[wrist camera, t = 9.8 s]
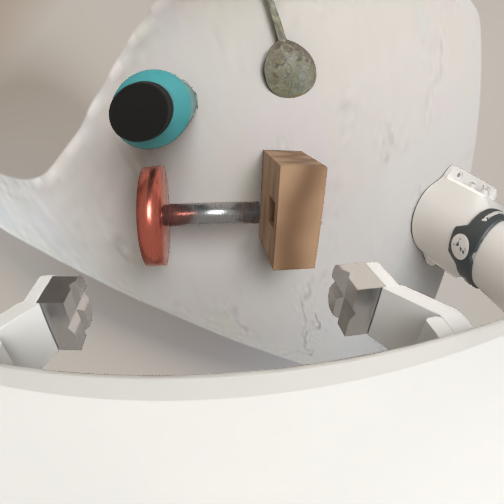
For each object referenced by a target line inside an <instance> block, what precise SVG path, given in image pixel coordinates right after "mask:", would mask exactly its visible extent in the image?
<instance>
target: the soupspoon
mask: <svg viewBox="0 0 504 504" xmlns="http://www.w3.org/2000/svg"><path fill="white" fill-rule="evenodd" d="M267 3H268V6H269V9H270V12H271V16H272V19H273V23H274V27H275V30H276V34H277V38H278V41H277V42H276V43H275V44H274V45H273V46H272V47H271V49H270V50H269V52H268V55H267V57H266V60H265V65H264V73H265V78H266V81H267V85H268V87H269V89H270V90H271V91H272V92H273V93H275V94H276V95H277V96H279V97H284V98H294V97H298V96H301V95H303V94H305V93H307V92H308V91H309V90H310V89H311V88H312V87H313V85H314V83H315V80H316V67H315V64H314V61H313V59H312V57H311V56H310V54H309V53H308V52H307V51H306V50H305V49H304V48H303V47H301V46H300V45H299V44H297V43H295V42H292V41H289V40H287V39H286V37H285V34H284V31H283V27H282V24H281V21H280V18H279V15H278V12H277V9H276V7H275V3H274V1H273V0H267Z"/></svg>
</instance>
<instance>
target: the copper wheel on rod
mask: <svg viewBox="0 0 504 504" xmlns="http://www.w3.org/2000/svg"><path fill="white" fill-rule="evenodd" d="M136 216H137V232H138V240H139V246H140V251H141V255H142V258H143V261H144V263H145V264H146V265H147V266H161V265H167V262H168V257H169V243H170V226H181V225H207V224H237V223H259V221H260V205H259V202H217V203H188V204H169V195H168V184H167V177H166V172H165V168H164V166H151V167H144V168H143V169H142V170H141V173H140V177H139V181H138V189H137V204H136Z"/></svg>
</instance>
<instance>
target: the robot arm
mask: <svg viewBox="0 0 504 504" xmlns="http://www.w3.org/2000/svg"><path fill="white" fill-rule="evenodd" d="M457 174H458V175H457ZM412 234H413V239H414V242H415V244H416V245H417V247H418V248H419V249H420V250H421V251H422V252H423V253H424V257H425V261H426V263H427V264H429V265H430V266H434V265H438V266H440V267H441V268H442V269H444V270H445V271H447V272H448V273H449V274H451V275H452V276H453V277H456V278H457V277H461V276H462V277H463V278H464V280H465V281H466V282H467V283H469V284H470V285H472V286H473V287H475V288H478V289H480V290H481V291H482V292H483V293H485V294H486V295H487V296H488V297H489V298H490V299H491V300H492V301H493V302H494V303H495V304H496V305H497V306H498V307H499V308H500V309H501V310H502V311H503V312H504V205H503V204H502V203H500V202H498V201H497V191H496V189H495V188H494V187H493V186H491V185H490V184H488V183H486V182H484V181H483V180H481V179H479V178H477V177H475V176H473V175H472V174H470V173H468V172H466V171H464V170H462V169H460V168H458V167H456V166H454V165H452V166H450V167H449V168H448V169H447V171H446V172H445V173H444V175H443V176H442V178H440V179H439V180H438V181H436V182H435V183H433V184H432V185H431V186H430V187H429V188H428V189H427V190H426V191H425V193H424V194H423V195H422V197H421V198H420V200H419V202H418V204H417V207H416V209H415V212H414V216H413V221H412ZM332 278H333V279H334V281H335V282H334V283H333V284H332V286H331V287H330V288H329V294H328V301H329V307H330V310H331V312H332V314H333V315H334V316H336V317H338V318H339V320H338V325H339V327H340V328H341V330H342V332H343V334H344V336H352V335H360V334H368V335H369V336H370V337H372V338H373V339H375V340H376V341H377V342H379V343H380V344H382V345H383V346H384V347H386V348H387V349H388V350H387V351H382V352H378V353H373V354H368V355H362V356H357V357H351V358H346V359H340V360H334V361H328V362H321V363H314V364H307V365H300V366H292V367H284V368H275V369H266V370H256V371H245V372H231V373H216V374H194V375H110V374H90V373H76V372H63V371H53V370H43V369H41V368H42V367H43V366H44V365H45V364H46V363H47V362H48V361H49V360H50V359H51V358H52V357H53V356H54V355H55V354H56V353H57V352H58V351H59V349H60V350H82V347H83V344H84V341H85V338H86V334H85V331H84V330H86V329H87V328H88V327H89V326H90V324H91V321H92V306H91V302H90V299H89V297H88V296H86V295H85V293H84V291H85V289H86V284H85V281H84V278H83V277H82V276H81V275H44V276H41V277H40V278H39V279H38V281H37V282H36V283H35V285H34V287H33V288H32V289H31V291H30V292H29V294H28V295H27V297H26V298H25V300H24V301H23V303H18V304H16V305H15V306H13V307H11V308H10V309H8V310H7V311H5V312H3V313H2V314H0V504H504V318H503V319H500V320H497V321H494V322H491V323H488V324H485V325H482V326H479V327H475V328H474V327H473V326H472V325H471V324H470V323H469V322H468V320H467V319H466V318H465V317H464V316H463V315H462V314H461V313H460V312H459V311H458V310H456V309H454V308H452V307H450V306H447V305H445V304H443V303H441V302H439V301H437V300H434V299H432V298H430V297H428V296H426V295H423V294H421V293H419V292H417V291H414V290H412V289H410V288H408V287H405V286H403V285H402V286H399V285H398V284H397V283H396V282H395V280H394V279H393V278H392V277H391V276H390V275H389V274H388V273H387V272H386V271H385V270H384V268H383V267H382V266H381V265H380V264H379V263H378V262H375V261H374V262H364V263H354V264H342V265H335V267H334V269H333V273H332Z"/></svg>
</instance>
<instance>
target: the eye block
mask: <svg viewBox="0 0 504 504" xmlns="http://www.w3.org/2000/svg"><path fill="white" fill-rule="evenodd" d="M326 177H327V167H326V166H324V165H323V164H321V163H320V162H318V161H316V160H315V159H313V158H311V157H310V156H308V155H307V154H305V153H303V152H302V151H281V150H263V169H262V190H261V211H260V232H259V236H260V239H261V241H262V244H263V246H264V249H265V251H266V254H267V256H268V259H269V261H270V264H271V266H272V269H273V270H290V269H308V268H315V262H316V255H317V248H318V241H319V234H320V226H321V219H322V211H323V203H324V194H325V186H326Z"/></svg>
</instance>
